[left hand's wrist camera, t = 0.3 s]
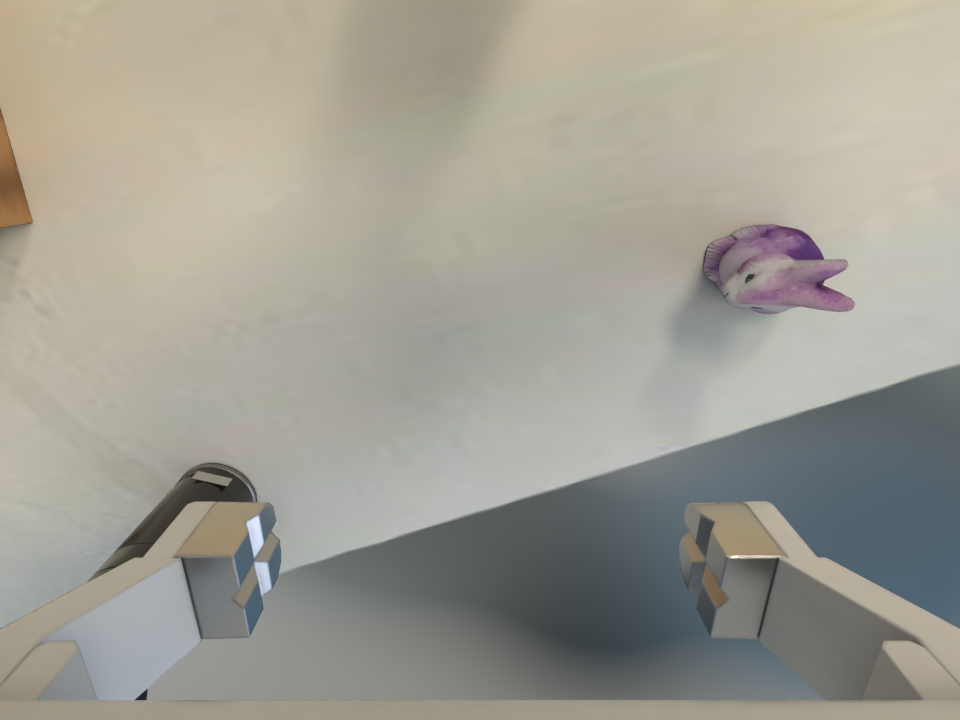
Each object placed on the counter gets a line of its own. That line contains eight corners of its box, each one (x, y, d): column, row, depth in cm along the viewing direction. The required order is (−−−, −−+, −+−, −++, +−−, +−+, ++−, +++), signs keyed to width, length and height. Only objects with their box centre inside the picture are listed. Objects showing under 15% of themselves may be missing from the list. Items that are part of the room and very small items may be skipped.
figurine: (678, 266, 56) (744, 303, 42) (762, 195, 54) (862, 210, 40) (729, 329, 59) (808, 384, 45) (812, 264, 56) (923, 301, 42)
